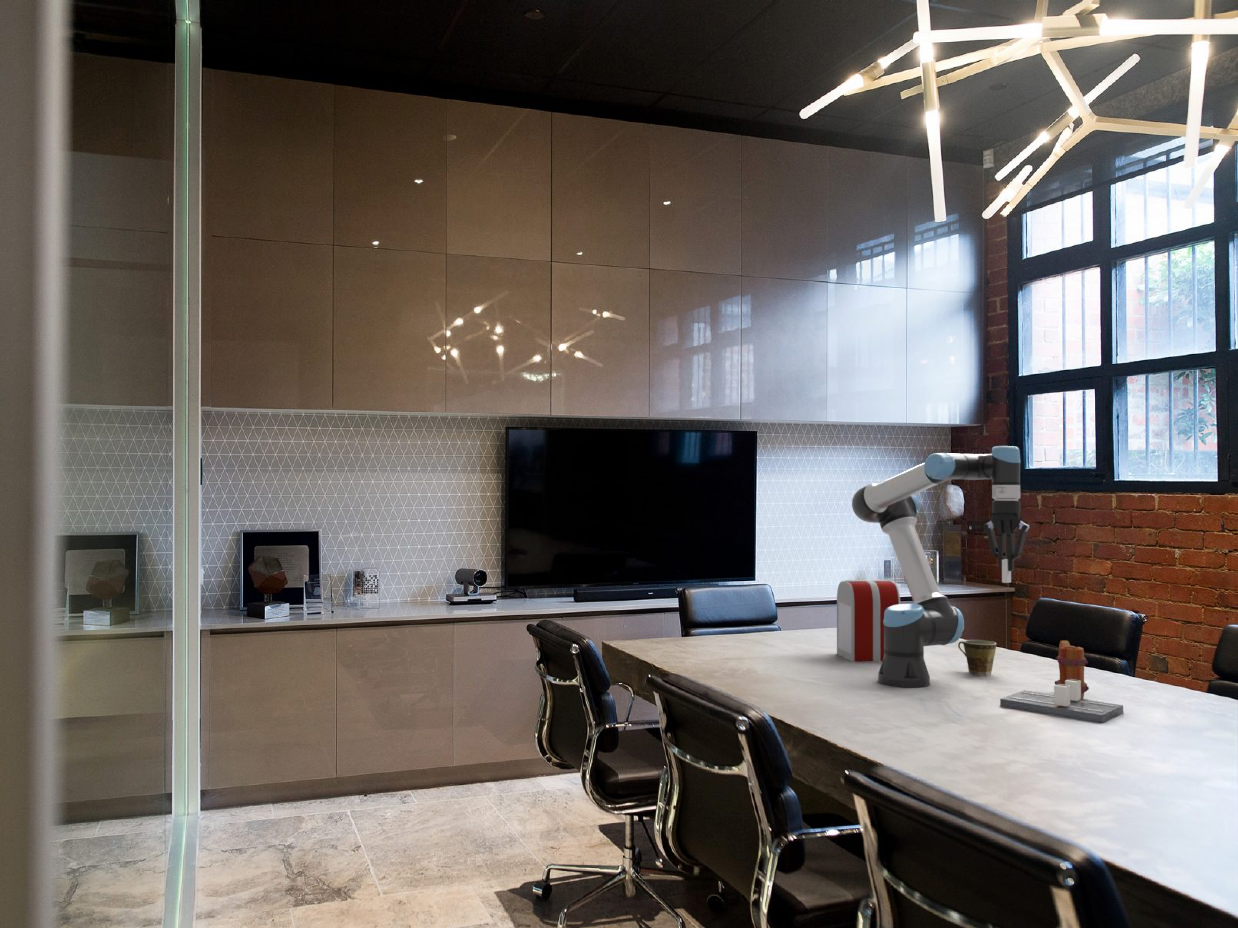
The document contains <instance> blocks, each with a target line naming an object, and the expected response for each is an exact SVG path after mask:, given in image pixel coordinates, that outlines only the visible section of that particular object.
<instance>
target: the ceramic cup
mask: <svg viewBox="0 0 1238 928" xmlns="http://www.w3.org/2000/svg"><path fill="white" fill-rule="evenodd" d="M961 644H963V649H962V648H961ZM957 646H958V649H959V651H960V652H961V653H962V654H963V655H964V656H965V657H966V664H967V668H968V673H969V674H970V675H975V676H989V675H990V676H991V675H992V671H993V665H994V659H995V656H996V651H997V642H995V641H991V640H984V639H965V640H963V641H959V642H958V644H957Z"/></svg>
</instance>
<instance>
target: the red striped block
mask: <svg viewBox="0 0 1238 928" xmlns="http://www.w3.org/2000/svg"><path fill="white" fill-rule="evenodd" d="M898 604H901V595H900V590H899V587H898V585H897V584H896V583H895V582H893V581H892V580H889V579H862V580H861V579H855V580H854V579H853V580H852V579H850V580H849V579H846V580H841V581H840V582H839V584H838V587H837V593H836V654H837V655H838V656H840V657H842V658H845V659H846V660H848V661H849V662H855V663H857V662H859V663H860V662H863V663H864V662H875V663H876V662H882V661H883V658H884V623H883V620H884V612H885V610H886V609H887V608H888V607H890V606H893V605H898Z"/></svg>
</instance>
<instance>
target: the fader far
mask: <svg viewBox="0 0 1238 928" xmlns="http://www.w3.org/2000/svg"><path fill="white" fill-rule="evenodd" d="M1065 685H1069V686H1070V700H1074V701H1078V700H1080V699H1082V698H1081V681H1079V680H1072V679H1067V680H1065Z"/></svg>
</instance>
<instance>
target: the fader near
mask: <svg viewBox="0 0 1238 928" xmlns="http://www.w3.org/2000/svg"><path fill="white" fill-rule="evenodd" d="M1053 695H1054V705H1060V706H1068V705H1070V686H1069V685H1062V684H1056V685H1055V684H1054V685H1053Z"/></svg>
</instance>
